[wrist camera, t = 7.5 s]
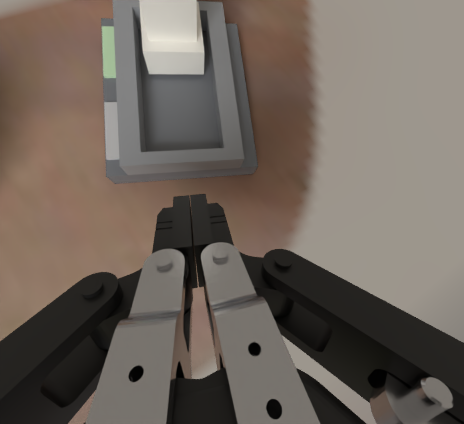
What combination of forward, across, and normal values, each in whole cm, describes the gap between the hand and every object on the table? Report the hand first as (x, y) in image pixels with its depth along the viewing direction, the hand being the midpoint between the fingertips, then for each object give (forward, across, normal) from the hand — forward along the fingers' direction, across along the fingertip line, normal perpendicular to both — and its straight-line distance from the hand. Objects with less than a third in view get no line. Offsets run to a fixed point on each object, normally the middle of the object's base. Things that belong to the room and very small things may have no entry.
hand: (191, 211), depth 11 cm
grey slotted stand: (+10, 0, -3) cm, 11 cm away
